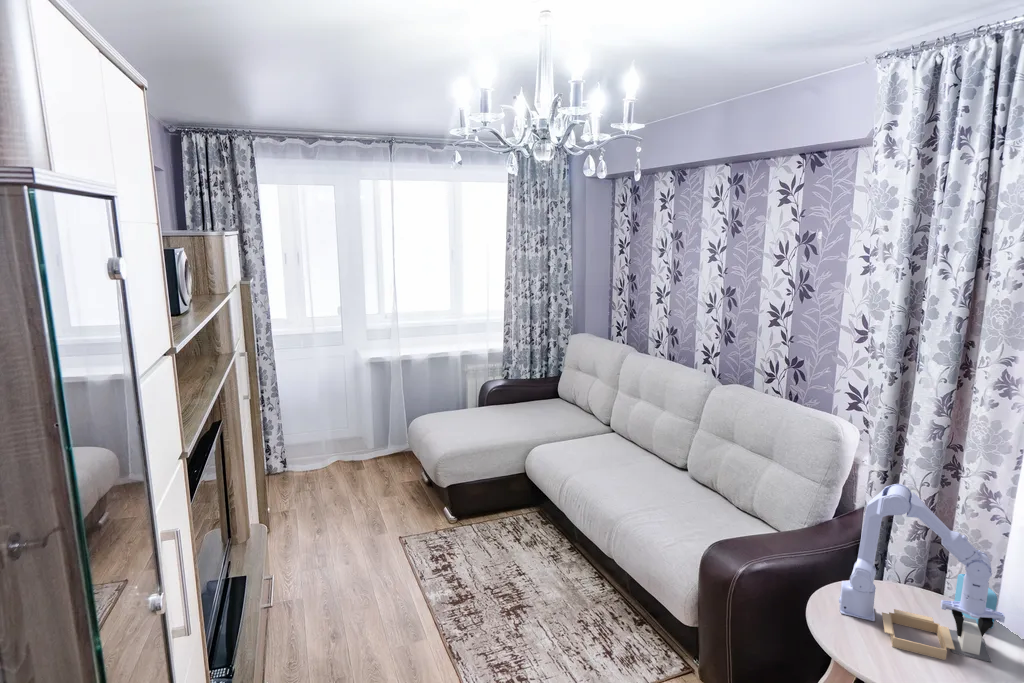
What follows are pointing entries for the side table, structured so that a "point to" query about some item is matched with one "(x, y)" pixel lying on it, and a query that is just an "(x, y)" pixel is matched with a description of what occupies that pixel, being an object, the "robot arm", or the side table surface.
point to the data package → (991, 597)
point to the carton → (918, 623)
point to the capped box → (970, 636)
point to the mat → (982, 655)
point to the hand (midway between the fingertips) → (968, 636)
